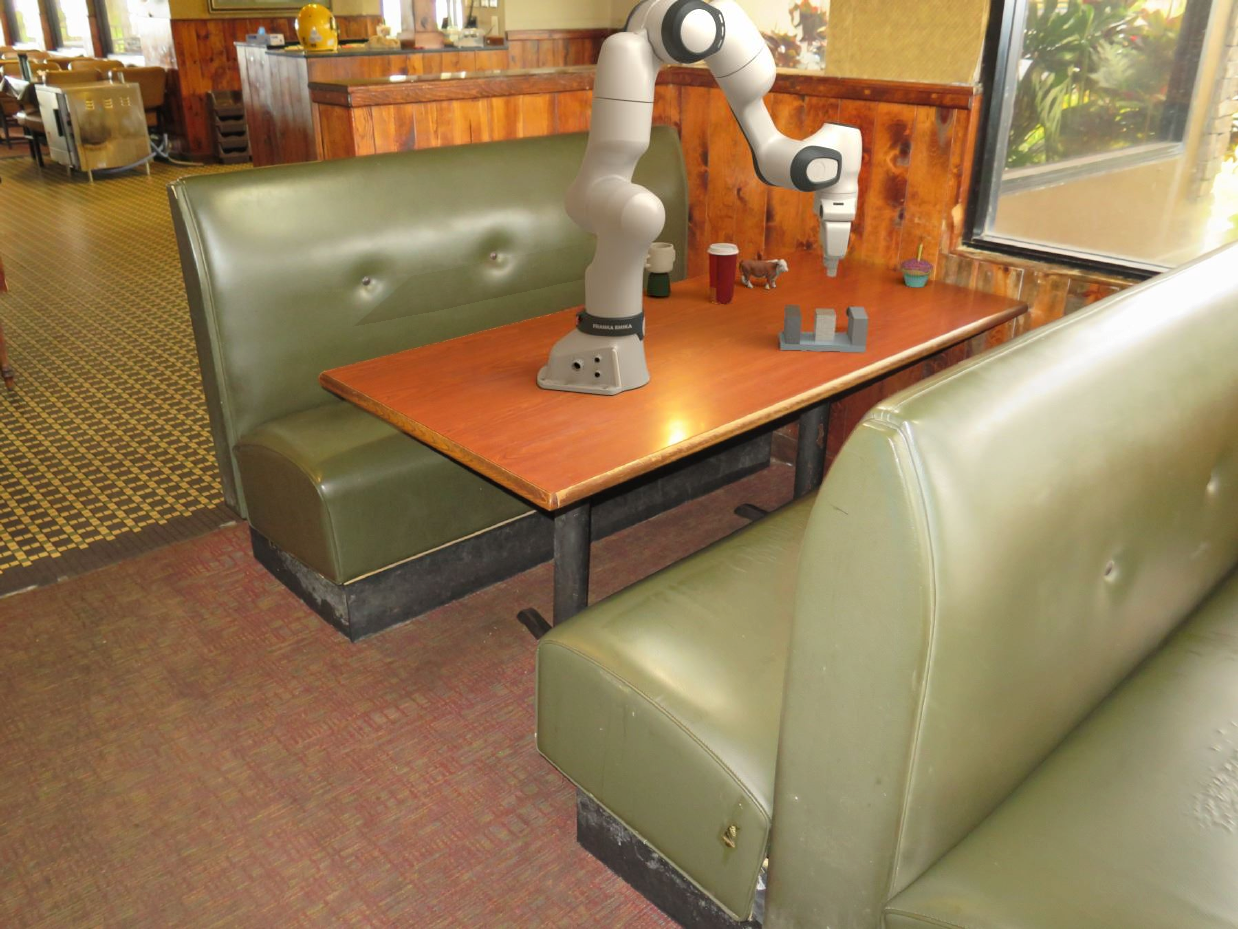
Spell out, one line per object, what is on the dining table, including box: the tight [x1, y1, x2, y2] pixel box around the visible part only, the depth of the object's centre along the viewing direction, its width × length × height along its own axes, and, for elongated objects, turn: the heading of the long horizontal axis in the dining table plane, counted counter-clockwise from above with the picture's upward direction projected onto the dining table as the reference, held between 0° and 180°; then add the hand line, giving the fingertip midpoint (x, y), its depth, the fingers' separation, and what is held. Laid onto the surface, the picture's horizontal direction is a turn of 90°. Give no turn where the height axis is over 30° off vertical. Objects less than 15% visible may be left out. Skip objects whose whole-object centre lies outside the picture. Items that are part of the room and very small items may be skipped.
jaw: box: [783, 304, 803, 344], centre depth 218 cm, size 3×9×6 cm, turn 174°
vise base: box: [778, 305, 869, 354], centre depth 222 cm, size 18×17×8 cm
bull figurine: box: [738, 258, 789, 290], centre depth 262 cm, size 4×13×8 cm, turn 65°
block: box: [813, 308, 837, 342], centre depth 218 cm, size 4×5×6 cm
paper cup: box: [707, 242, 740, 305], centre depth 249 cm, size 8×8×14 cm
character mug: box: [644, 241, 676, 298], centre depth 254 cm, size 11×7×13 cm, turn 131°
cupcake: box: [899, 241, 934, 288], centre depth 263 cm, size 9×8×12 cm
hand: (829, 270), depth 213 cm, fingers open, 8 cm apart
